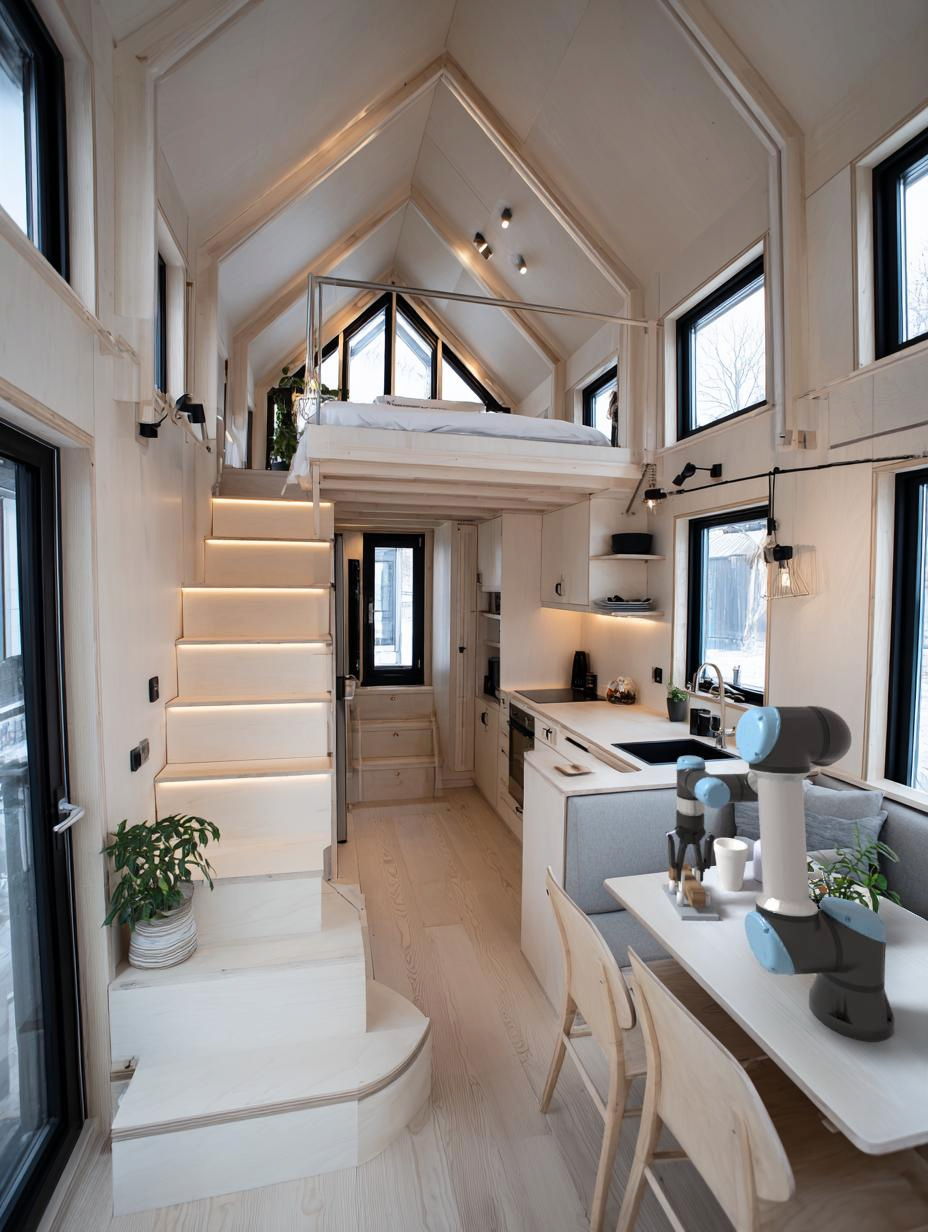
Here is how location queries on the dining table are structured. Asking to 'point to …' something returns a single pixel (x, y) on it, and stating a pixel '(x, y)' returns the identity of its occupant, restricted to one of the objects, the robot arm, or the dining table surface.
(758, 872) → the soap bottle
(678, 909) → the rack
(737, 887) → the foam cup
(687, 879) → the wooden toy mallet
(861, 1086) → the dining table surface
